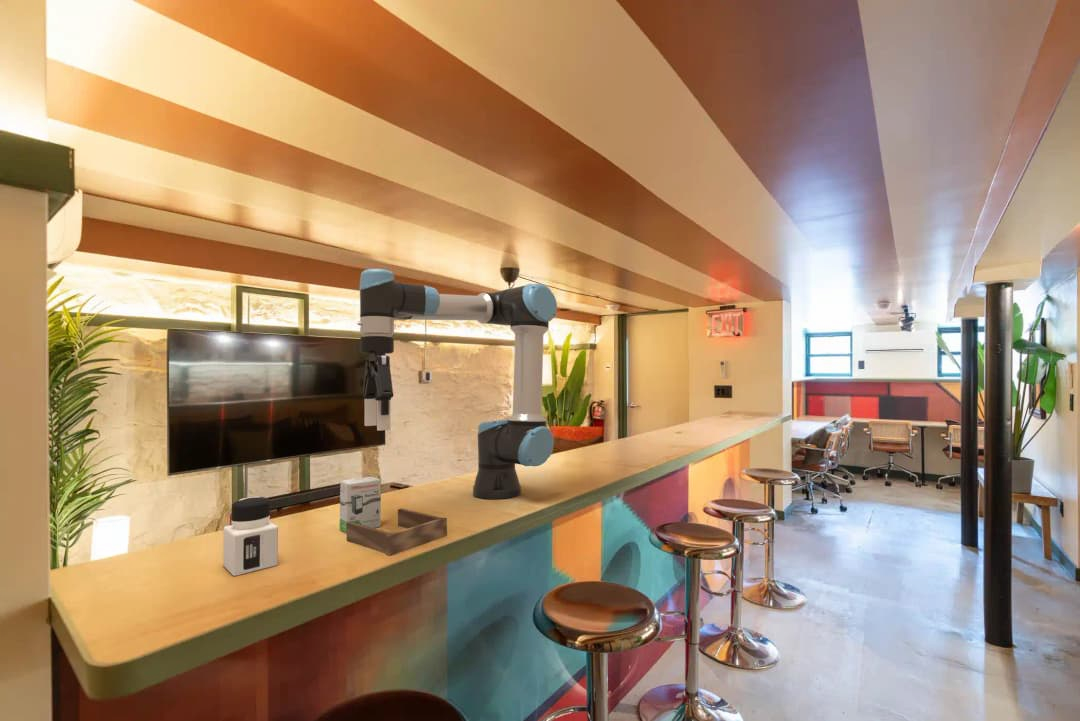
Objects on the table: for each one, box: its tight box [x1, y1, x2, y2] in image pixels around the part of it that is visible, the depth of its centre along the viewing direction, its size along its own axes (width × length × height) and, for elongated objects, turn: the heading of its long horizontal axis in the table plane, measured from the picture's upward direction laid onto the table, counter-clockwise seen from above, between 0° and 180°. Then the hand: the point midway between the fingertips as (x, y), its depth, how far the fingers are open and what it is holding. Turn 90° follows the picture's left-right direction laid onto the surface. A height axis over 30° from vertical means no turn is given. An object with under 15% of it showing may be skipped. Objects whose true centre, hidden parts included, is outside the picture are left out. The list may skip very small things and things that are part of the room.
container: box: [222, 496, 279, 577], centre depth 97 cm, size 8×8×13 cm
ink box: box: [339, 476, 382, 534], centre depth 121 cm, size 9×5×12 cm, turn 131°
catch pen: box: [346, 508, 448, 557], centre depth 112 cm, size 16×16×4 cm
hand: (376, 428), depth 114 cm, fingers open, 13 cm apart
